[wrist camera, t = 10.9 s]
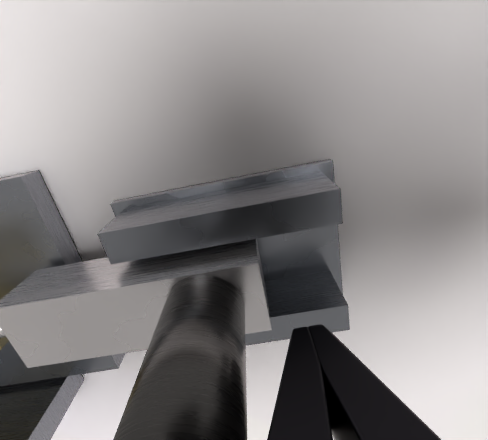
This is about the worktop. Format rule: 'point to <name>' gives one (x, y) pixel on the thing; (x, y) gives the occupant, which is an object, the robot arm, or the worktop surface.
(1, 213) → the frame
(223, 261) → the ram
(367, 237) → the worktop surface
